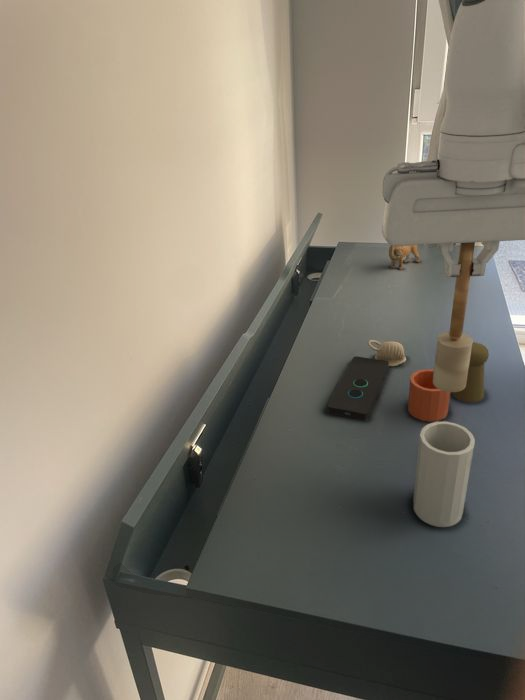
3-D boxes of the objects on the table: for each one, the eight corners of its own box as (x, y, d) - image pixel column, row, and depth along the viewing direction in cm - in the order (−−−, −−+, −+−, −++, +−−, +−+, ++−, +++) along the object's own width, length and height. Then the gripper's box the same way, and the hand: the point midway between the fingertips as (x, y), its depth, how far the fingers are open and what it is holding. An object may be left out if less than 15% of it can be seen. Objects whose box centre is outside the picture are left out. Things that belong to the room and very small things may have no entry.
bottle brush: (461, 374, 75) (483, 221, 64) (470, 391, 71) (495, 233, 60) (429, 375, 75) (445, 223, 64) (436, 392, 71) (455, 235, 60)
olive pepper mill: (474, 383, 108) (481, 336, 103) (490, 399, 103) (498, 351, 98) (446, 387, 108) (452, 340, 102) (461, 404, 103) (468, 356, 97)
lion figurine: (398, 274, 160) (399, 246, 156) (383, 270, 164) (384, 242, 159) (423, 260, 169) (425, 232, 165) (408, 256, 173) (410, 229, 168)
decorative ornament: (405, 367, 115) (407, 346, 113) (367, 364, 117) (367, 344, 115) (406, 358, 119) (408, 337, 116) (368, 355, 121) (369, 335, 118)
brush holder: (442, 398, 105) (446, 368, 101) (452, 421, 98) (456, 390, 95) (404, 399, 105) (407, 369, 102) (412, 422, 99) (414, 391, 96)
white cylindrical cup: (455, 491, 83) (466, 420, 76) (468, 527, 77) (481, 454, 70) (409, 491, 84) (415, 422, 77) (418, 527, 78) (426, 455, 71)
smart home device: (325, 405, 103) (353, 355, 118) (325, 412, 103) (353, 361, 119) (367, 413, 99) (390, 360, 115) (367, 421, 100) (389, 367, 116)
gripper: (388, 169, 56) (382, 288, 63) (588, 157, 55) (559, 281, 62) (379, 158, 62) (375, 269, 69) (561, 147, 60) (537, 262, 67)
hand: (463, 275), depth 65 cm, fingers closed on bottle brush
